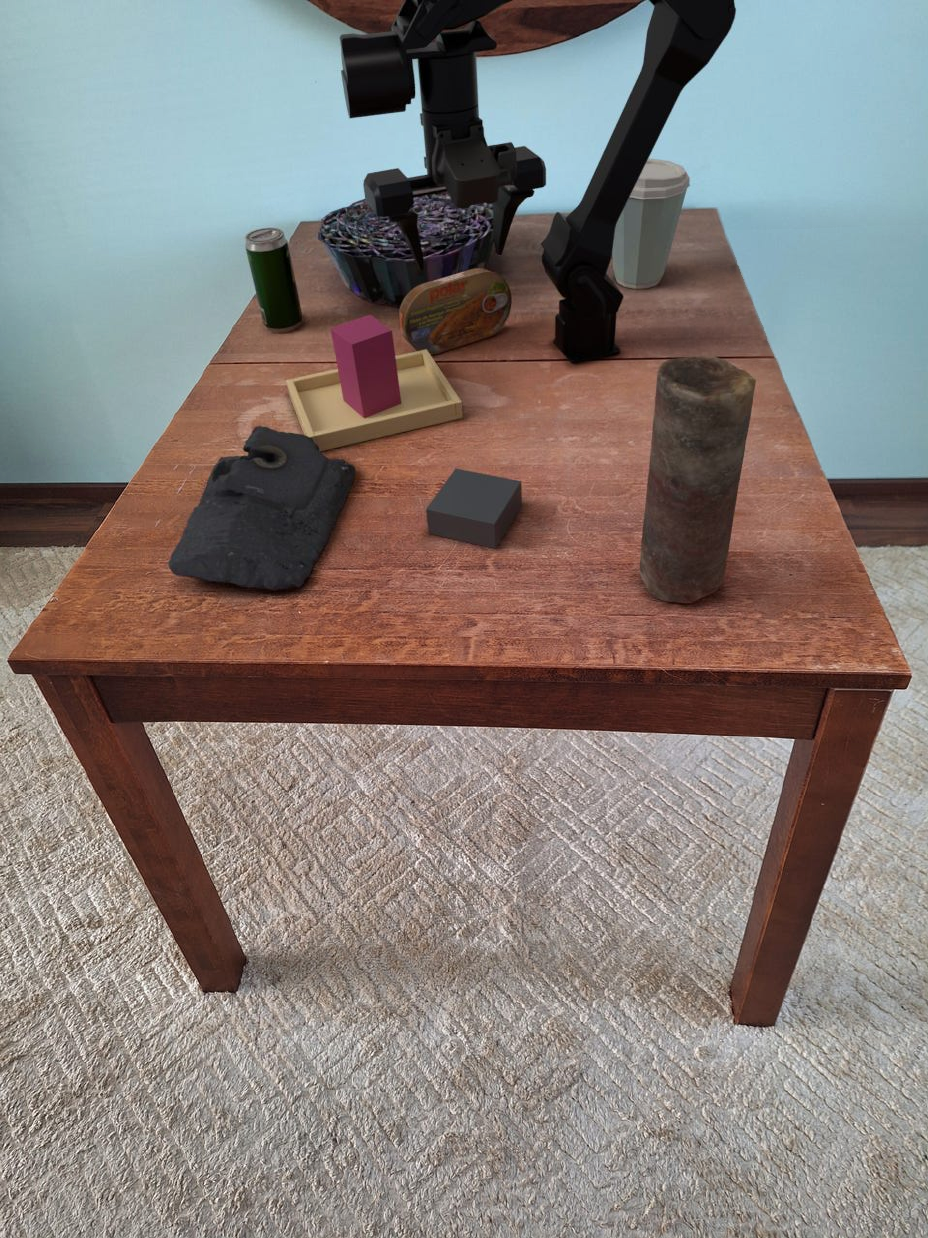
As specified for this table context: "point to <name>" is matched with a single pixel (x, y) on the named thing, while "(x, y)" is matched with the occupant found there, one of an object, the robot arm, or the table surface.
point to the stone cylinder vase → (693, 475)
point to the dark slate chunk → (264, 513)
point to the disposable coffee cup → (649, 224)
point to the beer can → (274, 279)
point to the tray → (341, 425)
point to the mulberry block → (366, 365)
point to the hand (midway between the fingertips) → (460, 261)
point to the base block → (474, 508)
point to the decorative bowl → (406, 246)
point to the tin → (455, 310)
